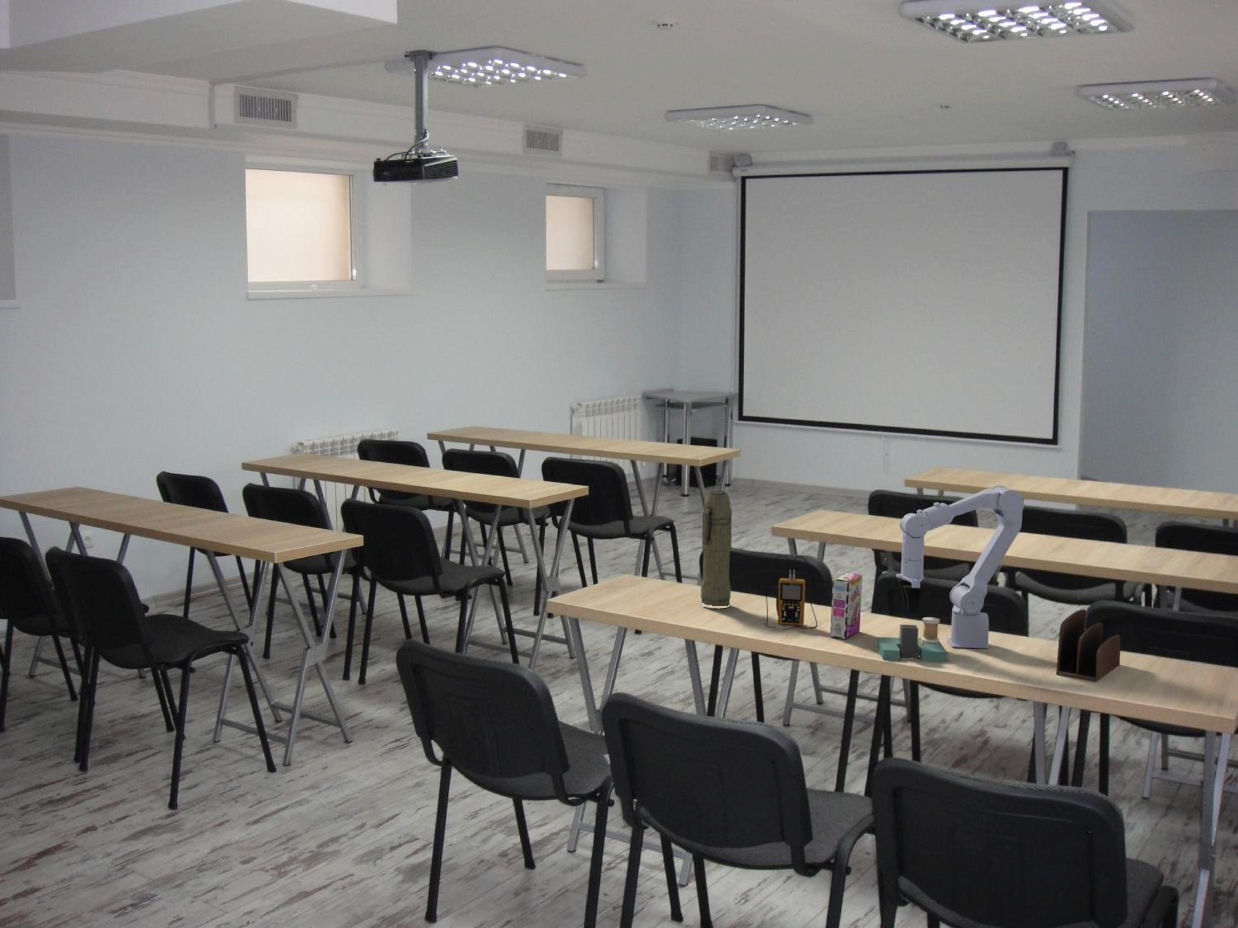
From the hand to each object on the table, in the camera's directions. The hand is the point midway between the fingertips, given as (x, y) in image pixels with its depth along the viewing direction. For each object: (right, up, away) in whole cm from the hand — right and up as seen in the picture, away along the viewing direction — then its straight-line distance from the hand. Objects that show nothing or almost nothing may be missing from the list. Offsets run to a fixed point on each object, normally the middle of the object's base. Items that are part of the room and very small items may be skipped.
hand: (910, 608), depth 325 cm
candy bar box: (-15, -9, +11) cm, 21 cm away
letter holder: (+40, -13, -21) cm, 47 cm away
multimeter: (-30, -8, +19) cm, 36 cm away
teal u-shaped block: (-2, -11, -8) cm, 13 cm away
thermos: (-49, -5, +44) cm, 66 cm away
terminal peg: (-3, -11, -10) cm, 16 cm away
